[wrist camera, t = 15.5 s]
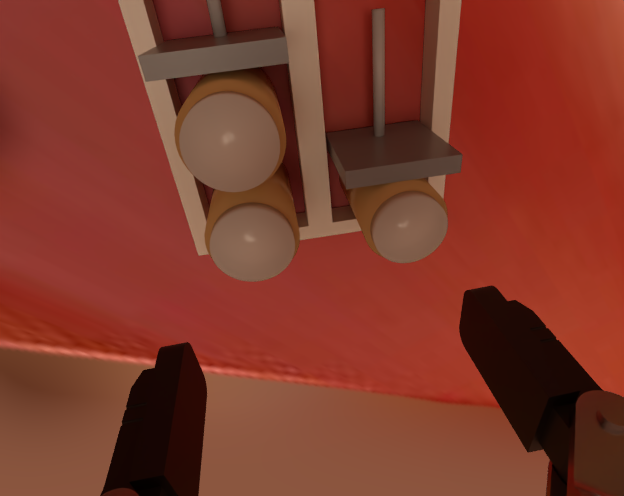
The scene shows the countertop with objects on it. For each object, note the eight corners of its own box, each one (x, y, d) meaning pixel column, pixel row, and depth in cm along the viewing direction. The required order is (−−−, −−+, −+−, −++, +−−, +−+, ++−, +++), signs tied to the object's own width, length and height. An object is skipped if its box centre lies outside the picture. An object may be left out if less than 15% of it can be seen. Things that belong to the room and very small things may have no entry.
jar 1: (185, 64, 27) (155, 95, 19) (271, 53, 28) (278, 78, 19) (206, 148, 31) (189, 206, 22) (283, 137, 31) (294, 190, 23)
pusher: (315, 14, 26) (336, 21, 20) (423, 1, 27) (479, 3, 20) (326, 147, 31) (346, 189, 25) (416, 135, 32) (460, 172, 25)
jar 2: (207, 153, 31) (190, 212, 22) (283, 142, 31) (295, 196, 23) (224, 220, 34) (215, 292, 26) (293, 209, 34) (306, 278, 26)
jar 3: (337, 144, 32) (367, 198, 23) (405, 135, 32) (458, 185, 24) (340, 206, 35) (368, 273, 26) (402, 197, 35) (449, 261, 27)
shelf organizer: (102, -90, 23) (35, -127, 16) (454, -128, 24) (538, -179, 17) (202, 241, 35) (189, 302, 28) (430, 207, 36) (472, 257, 29)
